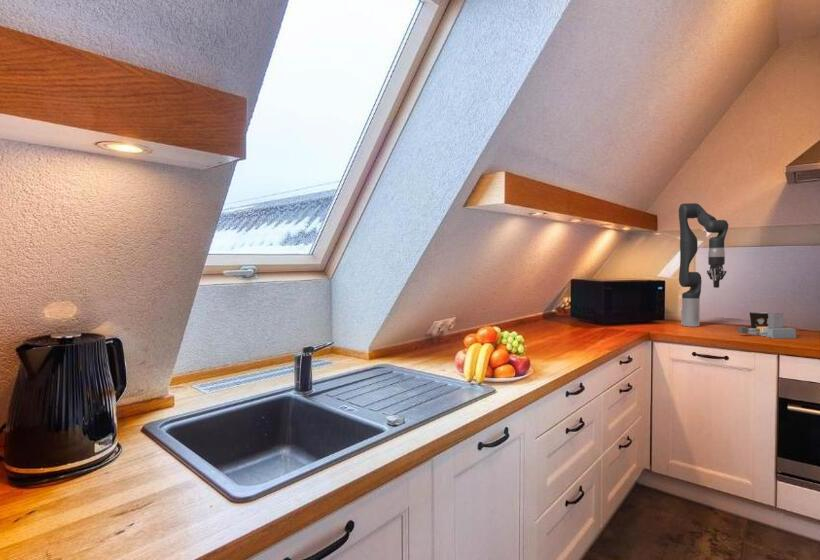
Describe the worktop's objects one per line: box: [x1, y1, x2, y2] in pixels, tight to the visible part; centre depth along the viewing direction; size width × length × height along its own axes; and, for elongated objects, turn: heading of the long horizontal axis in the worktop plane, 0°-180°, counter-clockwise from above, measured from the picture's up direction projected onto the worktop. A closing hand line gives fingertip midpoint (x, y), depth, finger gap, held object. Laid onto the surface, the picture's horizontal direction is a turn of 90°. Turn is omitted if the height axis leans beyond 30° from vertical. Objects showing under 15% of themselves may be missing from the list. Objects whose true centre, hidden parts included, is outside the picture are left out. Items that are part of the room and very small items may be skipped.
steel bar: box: [767, 311, 784, 329], centre depth 237 cm, size 4×5×11 cm
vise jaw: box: [737, 326, 768, 334], centre depth 240 cm, size 3×22×3 cm, turn 92°
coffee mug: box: [749, 311, 768, 328], centre depth 260 cm, size 12×9×10 cm
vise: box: [748, 327, 797, 339], centre depth 241 cm, size 20×12×4 cm, turn 2°
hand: (716, 287), depth 252 cm, fingers closed
